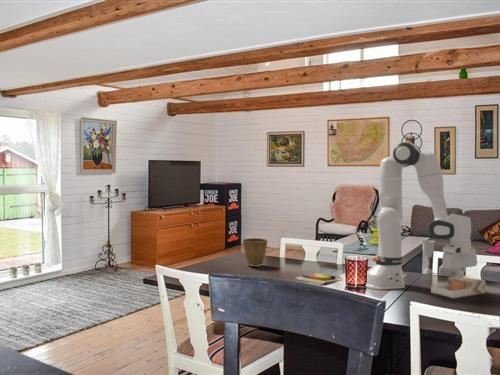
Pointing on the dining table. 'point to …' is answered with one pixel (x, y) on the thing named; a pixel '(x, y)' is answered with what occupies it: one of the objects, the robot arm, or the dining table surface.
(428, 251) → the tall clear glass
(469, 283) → the bench plate
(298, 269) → the dining table surface
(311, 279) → the wooden puzzle
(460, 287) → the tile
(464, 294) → the box
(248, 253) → the plant pot
